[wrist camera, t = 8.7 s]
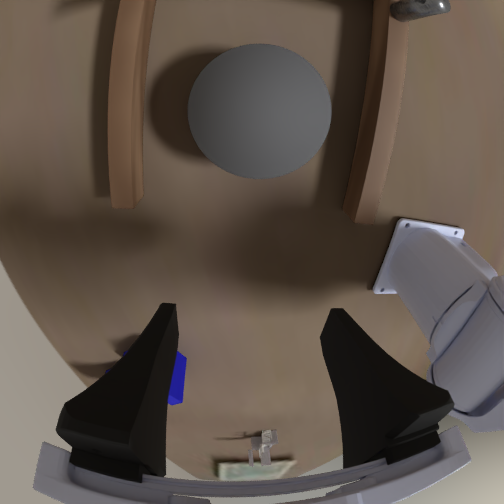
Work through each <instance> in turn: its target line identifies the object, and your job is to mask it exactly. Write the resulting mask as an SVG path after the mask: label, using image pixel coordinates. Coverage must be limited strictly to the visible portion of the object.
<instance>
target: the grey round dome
mask: <svg viewBox="0 0 504 504" xmlns="http://www.w3.org/2000/svg"><path fill="white" fill-rule="evenodd" d="M188 121H189V126H190V130H191V133H192V135H193V138H194V140H195V142H196V143H197V145H198V147H199V148H200V150H201V151H202V152H203V153H204V155H205V156H206V157H207V158H208V159H209V160H210V161H211V162H213V163H214V164H215V165H217V166H218V167H220V168H221V169H223V170H225V171H227V172H229V173H232V174H234V175H237V176H241V177H245V178H252V179H267V178H274V177H279V176H282V175H285V174H288V173H290V172H292V171H295V170H297V169H298V168H300V167H301V166H303V165H304V164H305V163H307V162H308V161H309V160H310V159H311V158H312V157H313V156H314V155H315V154H316V153H317V152H318V150H319V149H320V147H321V146H322V144H323V142H324V141H325V139H326V136H327V134H328V131H329V127H330V123H331V101H330V96H329V93H328V90H327V87H326V85H325V83H324V81H323V79H322V77H321V76H320V74H319V73H318V72H317V70H316V69H315V68H314V67H313V66H312V65H311V64H310V63H309V62H308V61H307V60H305V59H304V58H303V57H301V56H300V55H298V54H296V53H294V52H292V51H290V50H288V49H285V48H283V47H280V46H275V45H270V44H249V45H244V46H239V47H236V48H233V49H230V50H228V51H226V52H224V53H222V54H221V55H219V56H218V57H216V58H215V59H213V60H212V61H211V62H210V63H209V64H208V65H207V66H206V67H205V68H204V69H203V70H202V71H201V73H200V74H199V76H198V77H197V79H196V81H195V83H194V85H193V87H192V89H191V93H190V96H189V102H188Z"/></svg>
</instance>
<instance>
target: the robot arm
mask: <svg viewBox="0 0 504 504" xmlns="http://www.w3.org/2000/svg"><path fill="white" fill-rule="evenodd" d="M407 223H408V224H407ZM406 224H407V226H405V225H406ZM463 235H464V230H463V229H462V228H459V227H453V226H448V225H442V224H436V223H431V222H424V221H418V220H412V219H405V218H401V219H399V220H398V222H397V225H396V228H395V231H394V234H393V237H392V239H391V242H390V245H389V248H388V251H387V253H386V256H385V259H384V261H383V264H382V267H381V269H380V272H379V274H378V277H377V279H376V282H375V284H374V287H373V292H374V293H375V294H394V293H397V294H398V295H399V297H400V298H401V299H402V301H403V302H404V304H405V305H406V307H407V308H408V310H409V312H410V313H411V315H412V316H413V318H414V319H415V321H416V322H417V324H418V326H419V327H420V329H421V330H422V332H423V334H424V335H425V337H426V338H427V340H428V342H429V343H430V345H431V346H430V348H429V350H428V351H427V353H426V354H427V356H428V357H429V359H430V361H431V364H430V366H429V368H428V370H427V381H426V380H424V379H422V378H421V377H419V376H417V375H416V374H414V373H413V372H411V371H410V370H408V369H407V368H405V367H404V366H402V365H401V364H400V363H398V362H397V361H396V360H395V359H393V358H392V357H391V356H390V355H388V354H387V353H386V352H385V351H384V350H383V349H382V348H381V347H380V346H379V345H377V344H376V343H375V342H374V341H373V340H372V339H371V338H370V337H369V336H368V335H367V334H366V332H365V331H364V330H363V329H362V328H361V327H360V326H359V325H358V324H357V323H356V322H355V321H354V320H353V319H352V318H351V316H350V315H349V314H348V313H347V312H346V311H345V310H344V309H343V308H331V310H330V313H329V315H328V318H327V321H326V323H325V326H324V328H323V331H322V333H321V336H320V340H321V346H322V352H323V356H324V360H325V363H326V366H327V369H328V372H329V375H330V379H331V382H332V385H333V388H334V391H335V395H336V399H337V404H338V410H339V416H340V423H341V431H342V443H343V469H341V470H337V471H332V472H327V473H321V474H315V475H309V476H302V477H295V478H287V479H277V480H264V481H241V482H220V481H197V480H184V479H173V478H166V477H164V476H165V475H166V421H167V405H168V397H169V391H170V386H171V380H172V376H173V371H174V366H175V361H176V356H177V348H178V338H179V331H178V322H177V311H176V304H172V303H162V304H160V306H159V308H158V310H157V311H156V313H155V314H154V316H153V318H152V319H151V321H150V322H149V324H148V325H147V326H146V328H145V329H144V331H143V332H142V333H141V335H140V336H139V338H138V339H137V340H136V341H135V343H134V344H133V345H132V346H131V348H130V349H129V350H128V351H127V352H126V353H125V355H124V356H123V357H122V358H121V359H120V360H119V361H118V362H117V363H116V364H115V365H114V366H113V367H112V368H111V369H110V370H109V371H108V372H107V373H106V374H105V375H103V376H102V377H101V378H100V379H99V380H97V381H96V382H95V383H94V384H92V385H91V386H90V387H88V388H87V389H86V390H84V391H83V392H82V393H80V394H78V395H77V396H75V397H74V398H72V399H71V400H69V401H67V402H66V403H65V404H64V407H63V408H62V411H61V413H60V416H59V419H58V423H57V426H56V432H57V434H58V435H59V436H60V437H61V438H62V439H63V440H65V441H66V442H67V443H68V444H69V445H71V446H72V452H71V453H70V452H69V451H67V450H64V449H62V448H59V447H56V446H54V445H51V444H49V443H46V442H43V443H42V446H41V450H40V454H39V459H38V463H37V468H36V473H35V478H34V484H33V488H34V489H35V490H37V491H38V492H40V493H43V494H45V495H47V496H49V497H51V498H54V499H56V500H58V501H60V502H63V503H65V504H211V503H210V500H208V499H202V498H194V497H187V496H178V495H188V496H201V497H255V496H271V495H280V494H290V493H297V492H304V491H310V490H316V489H321V488H326V487H331V486H335V485H340V484H344V483H348V482H352V481H356V480H359V479H360V480H359V481H356V482H353V483H350V484H346V485H343V486H341V487H340V488H338V489H336V490H334V491H332V492H329V493H326V496H323V497H319V498H312V499H306V500H300V501H294V502H285V503H277V504H394V503H397V502H399V501H401V500H403V499H405V498H408V497H410V496H412V495H414V494H416V493H418V492H420V491H422V490H424V489H426V488H428V487H430V486H431V485H433V484H435V483H437V482H439V481H440V480H442V479H444V478H446V477H447V476H449V475H451V474H452V473H454V472H456V471H457V470H459V469H460V468H462V467H463V466H465V465H467V464H468V463H470V462H471V457H470V455H469V452H468V450H467V447H466V444H465V442H464V440H463V437H462V435H461V432H460V430H459V428H458V426H457V425H456V426H454V427H452V428H450V429H448V430H445V431H444V432H442V433H440V434H438V433H437V431H436V430H438V429H439V425H438V422H439V421H440V420H441V419H442V418H444V417H445V416H446V415H447V414H448V415H450V416H453V417H455V418H457V419H459V420H461V421H462V422H464V423H465V424H466V425H467V426H468V427H469V428H470V429H471V430H472V431H473V432H476V433H477V432H491V431H499V430H504V275H502V276H498V275H497V273H496V271H495V270H494V268H493V267H492V266H491V265H490V264H489V263H488V262H487V261H486V260H484V259H483V258H482V257H481V256H480V255H479V254H478V253H477V252H476V251H475V250H474V249H473V248H471V247H470V246H469V245H468V244H467V243H466V242H465V241H464V240H462V238H463ZM173 494H177V495H173Z"/></svg>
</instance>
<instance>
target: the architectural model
mask: <svg viewBox="0 0 504 504" xmlns="http://www.w3.org/2000/svg"><path fill="white" fill-rule="evenodd" d="M262 432H263V430H262ZM261 435H262V436H261V437H251V443H252V450H259V456H260V457H261V465H262V466H263V465H271V460H270V452H269V449H270V448H271V447H272V445H273V444H278V439H277V431H276V430H273V431H271V430H265V431H264V432H263V433H262V434H261ZM252 450H248V453H249V465H250V466H252V467H253V466H254V464H253V453H252Z"/></svg>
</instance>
